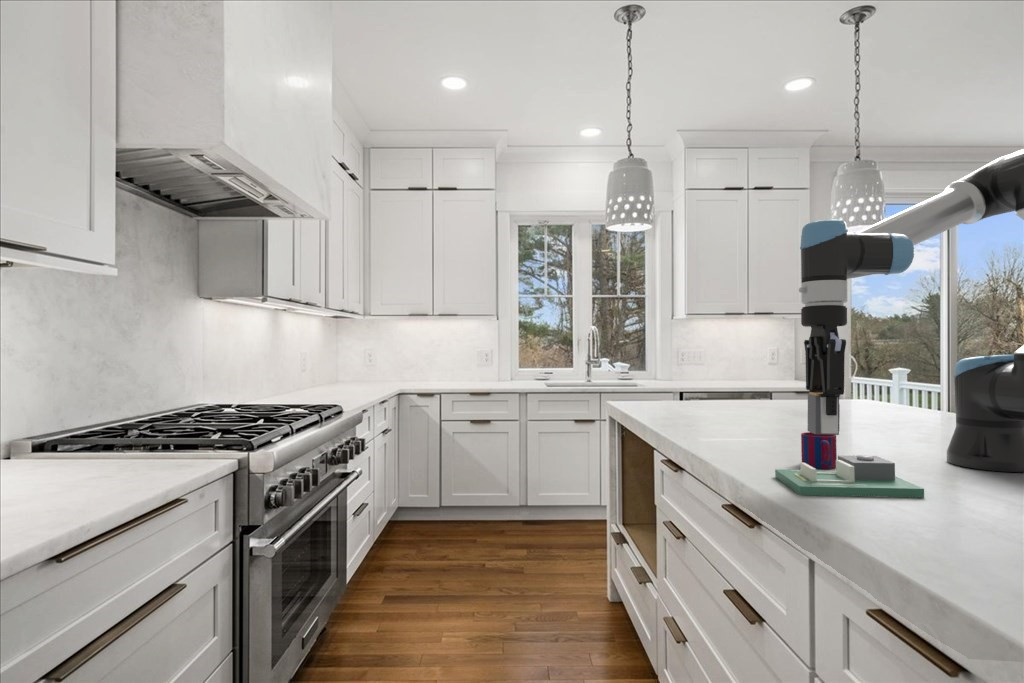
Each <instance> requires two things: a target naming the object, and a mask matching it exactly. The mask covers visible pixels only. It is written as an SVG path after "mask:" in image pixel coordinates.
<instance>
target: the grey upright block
mask: <svg viewBox="0 0 1024 683" xmlns="http://www.w3.org/2000/svg"><path fill="white" fill-rule="evenodd" d="M818 394H823V392H809V391H808V393H807V432H811V433H814V434H823V435H836V436H839V435H840V407H841V406H840V396H839V397H837V398H838V434H829V433H821V404H820V397H819V395H818Z"/></svg>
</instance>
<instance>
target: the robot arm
mask: <svg viewBox="0 0 1024 683" xmlns="http://www.w3.org/2000/svg"><path fill="white" fill-rule="evenodd" d="M1011 212H1015V215H1016V216H1017V217H1019V218H1020V219H1022V220H1023V221H1024V148H1022V149H1020V150H1017V151H1014V152H1011V153H1009V154H1006V155H1004V156H1003V155H1002V156H1001V157H998V158H996V159H995V160H992V161H991V162H989V163H987V164H985V165H983V166H982V167H980V168H978V169H977V170H975V171H973V172H971V173H969V174H967V175H965V176H964V177H961V178H960V179H958V180H956V181H953V182H951V183H950V184H948V185H947V186H946V187H945V188H944V191H943V192H941V193H939V194H937V195H934V196H933V197H930V198H928V199H926V200H924V201H921V202H920V203H917V204H915V205H913V206H911V207H909V208H907V209H904V210H903V211H899V212H898V213H896V214H894V215H892V216H889V217H888V218H887V217H886V218H885V219H883V220H880V221H879V222H876V223H874V224H872V225H870V226H868V227H865V228H863V229H861V230H859V231H856V232H848V225H847V223H846V221H844V220H841V219H840V220H839V219H823V220H815V221H812V222H808V223H807V224H805V225H804V226H803V227H802V230H801V236H800V247H799V249H800V263H801V264H800V267H801V268H800V276H801V277H800V278H801V281H800V282H801V285H800V287H799V288H798V292H799V293H801V300H800V302H801V304H802V305H804V306H802V308H801V309H800V310H801V311H800V318H801V319H800V321H801V323H800V324H801V326H802V327H805V328H810V336H809V338H808V339H804V340H803V345H804V349H805V350H804V352H805V354H804V355H805V389H806V390H807V391H808V393H809V392H823V394H818V395H819V397H820V404H821V433H829V434H838V398H837V397H839V398H840V396H841V395H844V394H845V357H846V356H845V354H846V353H845V352H846V346H847V340H846V339H845V338H840V337H839V332H838V331H839V330H838V327H845V326H847V325H848V307H847V305H844V304H846V303H847V302H848V279H849V280H850V279H854V278H862V277H866V276H867V277H868V276H871V275H884V276H885V275H886V276H887V275H890V274H891V275H897V274H901V273H904V272H905V271H906V270H908V269H909V268H910V266H911V265H912V263H913V260H914V257H915V253H914V252H915V246H916V245H918V244H921V243H922V242H925V241H926V240H929V239H931V238H933V237H935V236H938V235H940V234H942V233H944V232H946V231H948V230H951V229H953V228H955V227H956V226H959V225H961V224H963V225H971V224H975V223H977V222H979V221H981V220H982V221H983V219H986V218H990V217H994V216H998V215H1003V214H1007V213H1011ZM954 372H955V373H954V376H953V378H954V400H955V404H954V405H955V428H954V431H953V434H952V436H951V439H950V441H949V444H948V446H947V449H946V462H948V463H949V464H952V465H956V466H959V467H963V468H968V469H969V468H970V469H976V470H985V471H995V472H1005V473H1006V472H1008V473H1009V472H1010V473H1024V343H1023V344H1022V345H1021V346H1020V347H1018V349H1017V350H1015V351H1013V354H997V355H996V354H995V355H982V356H972V357H967V358H962V359H960V360H958V361H957V362H956V363H955V370H954Z"/></svg>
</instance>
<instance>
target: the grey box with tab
mask: <svg viewBox="0 0 1024 683" xmlns="http://www.w3.org/2000/svg"><path fill="white" fill-rule="evenodd" d="M837 460H841V461H844V462H846V463H848V464H850V465H852V466H854V477H855V479H876V480H895V476H896V464H895V462H893V461H890V460H888V459H885V458H882V457H881V456H877V455H863V454H858V455H837Z"/></svg>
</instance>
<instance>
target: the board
mask: <svg viewBox="0 0 1024 683" xmlns="http://www.w3.org/2000/svg"><path fill="white" fill-rule="evenodd" d="M799 468H800V469H779V468H775V469H774V473H775V474H774V476H775V478H776V479H778V480H779V481H780V482H781V483H784V484H785V485H786V486H787V487H789V488H790V489H792V491H794V492H795V493H796V494H798V495H799V496H829V497H830V496H831V497H832V496H833V497H836V496H837V497H872V496H873V497H874V496H889V497H888V498H890V497H891V496H892V497H891V498H918V497H924V498H925V488H923V487H921V486H919V485H916V484H914V483H912V482H910V481H907V480H905V479H903V478H900V477H898V476H896V475H895V480H876V479H855V477H854V466H852V465H850V464H848V463H846V462H844V461H841V460H838V459H837V460H836V468H835V469H816V468H813V467H811V466H810V465H808V464H806V463H802V462H800V463H799ZM874 498H875V497H874Z"/></svg>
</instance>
